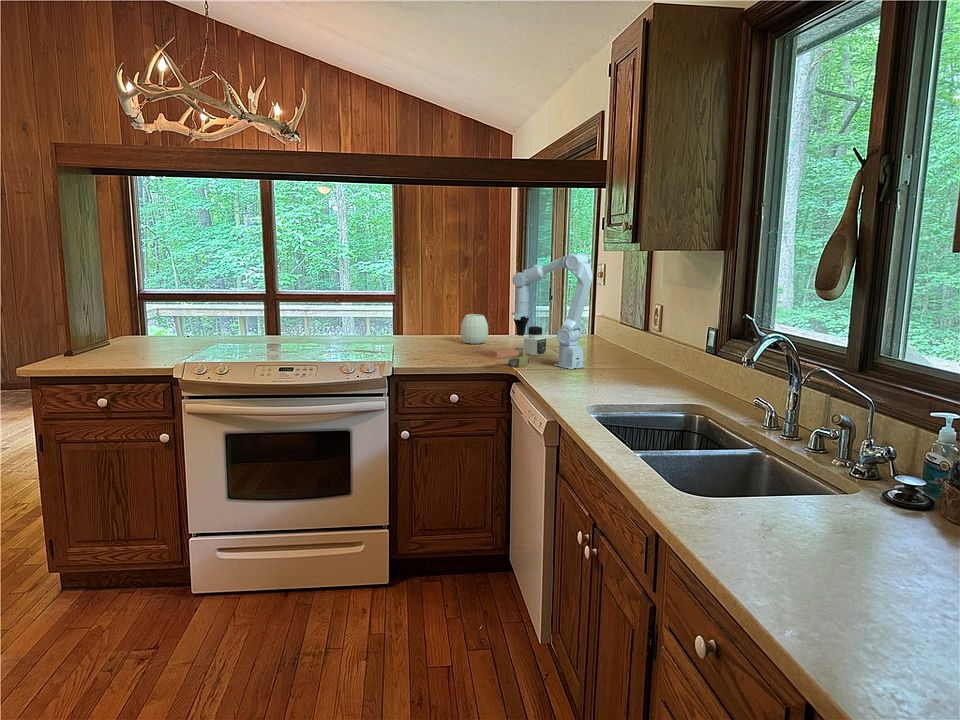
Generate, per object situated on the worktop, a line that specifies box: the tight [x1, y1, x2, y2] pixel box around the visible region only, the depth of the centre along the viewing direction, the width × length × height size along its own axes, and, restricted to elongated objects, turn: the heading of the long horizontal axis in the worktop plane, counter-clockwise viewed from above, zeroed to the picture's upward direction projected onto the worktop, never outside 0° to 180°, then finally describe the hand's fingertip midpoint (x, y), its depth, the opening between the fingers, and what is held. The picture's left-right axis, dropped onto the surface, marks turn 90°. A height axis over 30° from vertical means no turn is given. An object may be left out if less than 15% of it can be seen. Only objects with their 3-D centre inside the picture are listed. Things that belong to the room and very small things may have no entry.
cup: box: [460, 313, 489, 345], centre depth 324 cm, size 13×13×14 cm
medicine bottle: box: [523, 325, 547, 356], centre depth 296 cm, size 7×7×12 cm
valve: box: [507, 354, 530, 369], centre depth 268 cm, size 6×8×4 cm
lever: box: [492, 347, 526, 359], centre depth 264 cm, size 14×3×2 cm, turn 126°
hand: (520, 335), depth 278 cm, fingers closed
